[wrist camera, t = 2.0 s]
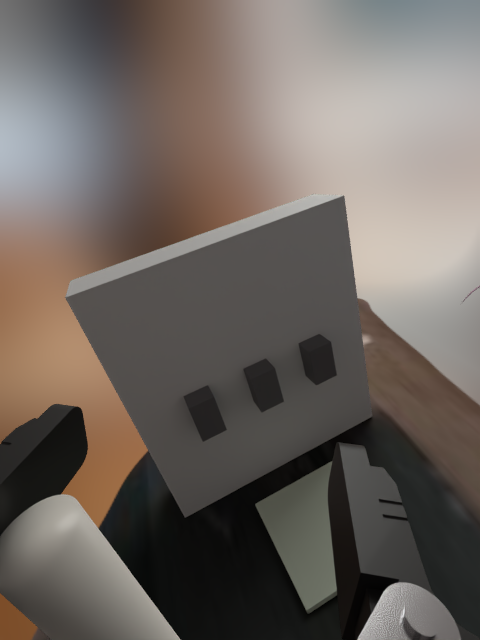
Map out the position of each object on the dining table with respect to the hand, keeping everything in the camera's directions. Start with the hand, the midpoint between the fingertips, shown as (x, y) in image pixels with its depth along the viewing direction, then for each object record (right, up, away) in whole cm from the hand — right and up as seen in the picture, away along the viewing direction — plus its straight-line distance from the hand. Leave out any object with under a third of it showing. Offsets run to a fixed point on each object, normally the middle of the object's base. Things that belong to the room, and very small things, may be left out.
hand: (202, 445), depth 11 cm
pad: (+9, -15, +21) cm, 28 cm away
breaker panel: (+5, -11, +30) cm, 33 cm away
